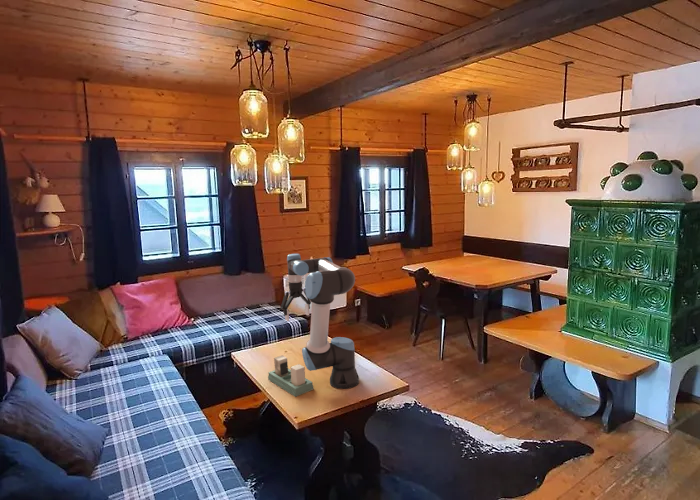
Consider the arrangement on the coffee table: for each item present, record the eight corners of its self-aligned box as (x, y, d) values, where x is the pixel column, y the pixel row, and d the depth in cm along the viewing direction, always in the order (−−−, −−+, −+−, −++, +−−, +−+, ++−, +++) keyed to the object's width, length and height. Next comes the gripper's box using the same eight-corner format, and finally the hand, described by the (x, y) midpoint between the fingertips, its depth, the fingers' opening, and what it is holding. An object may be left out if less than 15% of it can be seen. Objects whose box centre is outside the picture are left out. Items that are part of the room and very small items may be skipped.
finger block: (289, 376, 230) (287, 358, 229) (280, 379, 227) (279, 361, 226) (283, 372, 235) (282, 355, 233) (275, 375, 231) (274, 357, 230)
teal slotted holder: (313, 389, 219) (312, 366, 217) (295, 396, 212) (293, 373, 210) (286, 373, 239) (284, 352, 237) (268, 379, 232) (266, 358, 230)
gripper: (309, 276, 256) (311, 311, 259) (272, 284, 240) (275, 321, 243) (317, 278, 250) (319, 314, 254) (279, 286, 234) (282, 324, 238)
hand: (297, 317), depth 249 cm, fingers open, 13 cm apart
